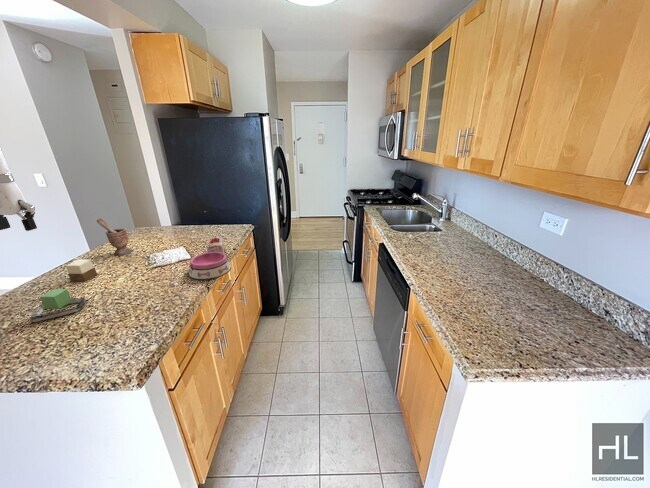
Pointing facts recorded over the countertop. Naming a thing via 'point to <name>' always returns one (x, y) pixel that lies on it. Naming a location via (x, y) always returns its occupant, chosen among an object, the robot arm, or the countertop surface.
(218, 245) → the food item
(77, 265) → the cream block
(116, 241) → the mortar and pestle
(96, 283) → the countertop surface
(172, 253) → the white flat packet
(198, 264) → the dog bowl
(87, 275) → the walnut block
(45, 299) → the green block
